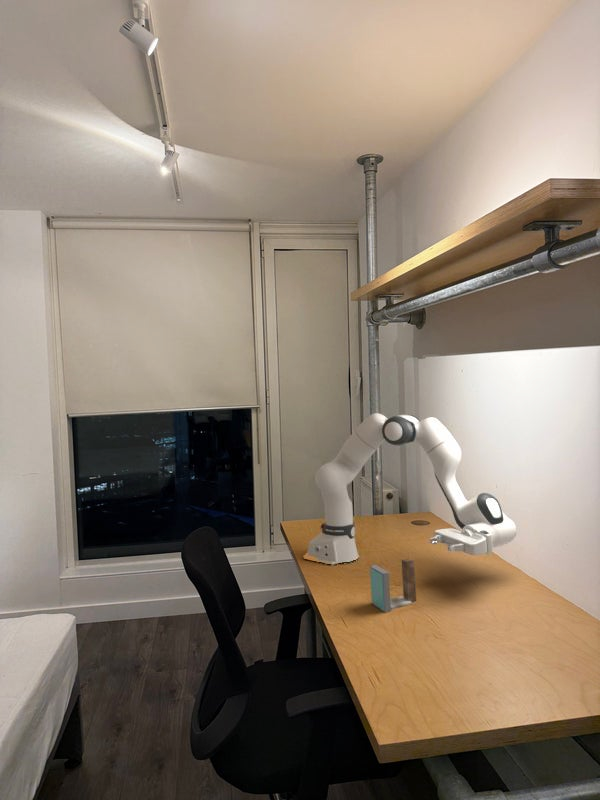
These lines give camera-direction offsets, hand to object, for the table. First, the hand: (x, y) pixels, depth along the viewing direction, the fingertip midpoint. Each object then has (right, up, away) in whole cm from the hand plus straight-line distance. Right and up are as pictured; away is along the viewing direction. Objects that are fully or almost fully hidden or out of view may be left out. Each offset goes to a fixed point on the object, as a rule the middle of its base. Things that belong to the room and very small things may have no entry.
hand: (439, 545), depth 183 cm
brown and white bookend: (-14, -17, -5) cm, 22 cm away
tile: (-20, -17, -8) cm, 28 cm away
